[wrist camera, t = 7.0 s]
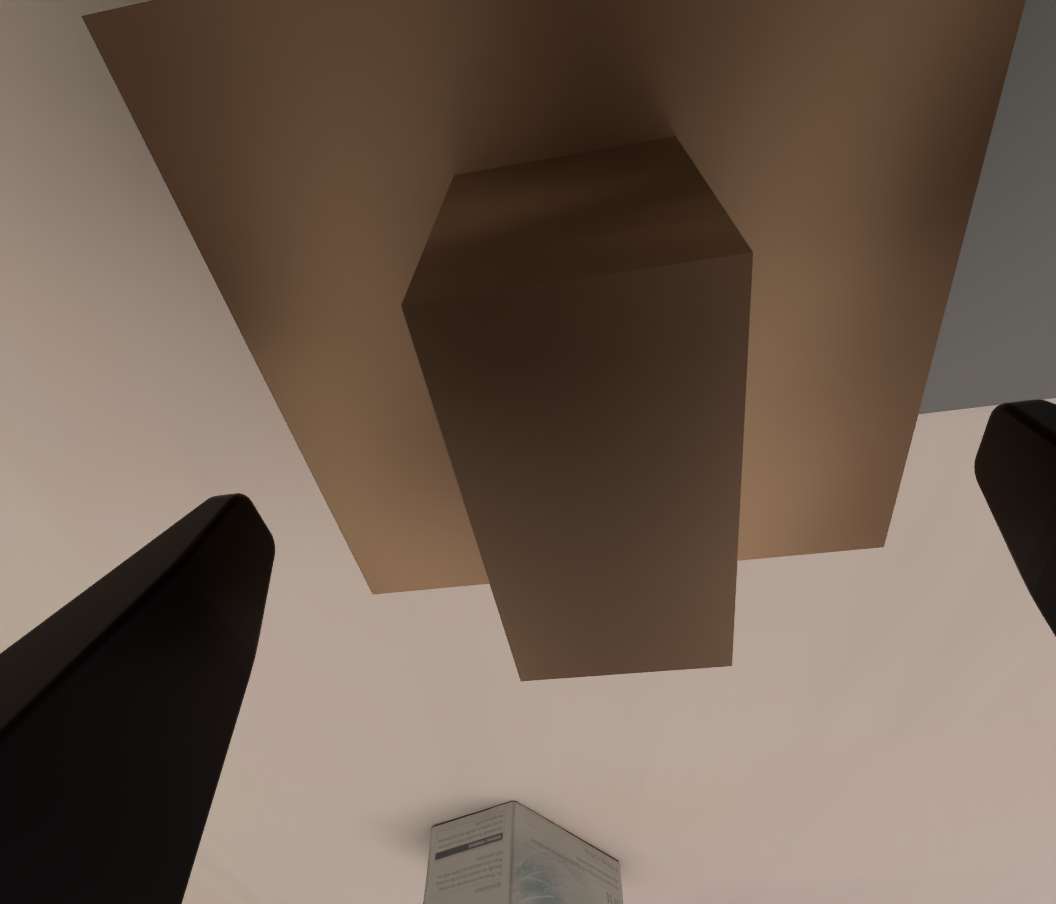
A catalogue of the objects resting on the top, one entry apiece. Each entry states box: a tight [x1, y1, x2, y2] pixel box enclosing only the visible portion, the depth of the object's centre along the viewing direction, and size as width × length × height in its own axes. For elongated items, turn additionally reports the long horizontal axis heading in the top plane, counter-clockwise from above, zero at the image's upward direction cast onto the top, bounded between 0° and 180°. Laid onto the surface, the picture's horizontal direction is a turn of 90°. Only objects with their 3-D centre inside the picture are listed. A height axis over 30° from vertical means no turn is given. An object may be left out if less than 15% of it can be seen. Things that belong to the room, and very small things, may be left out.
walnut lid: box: [82, 0, 1026, 681], centre depth 9 cm, size 11×11×5 cm
